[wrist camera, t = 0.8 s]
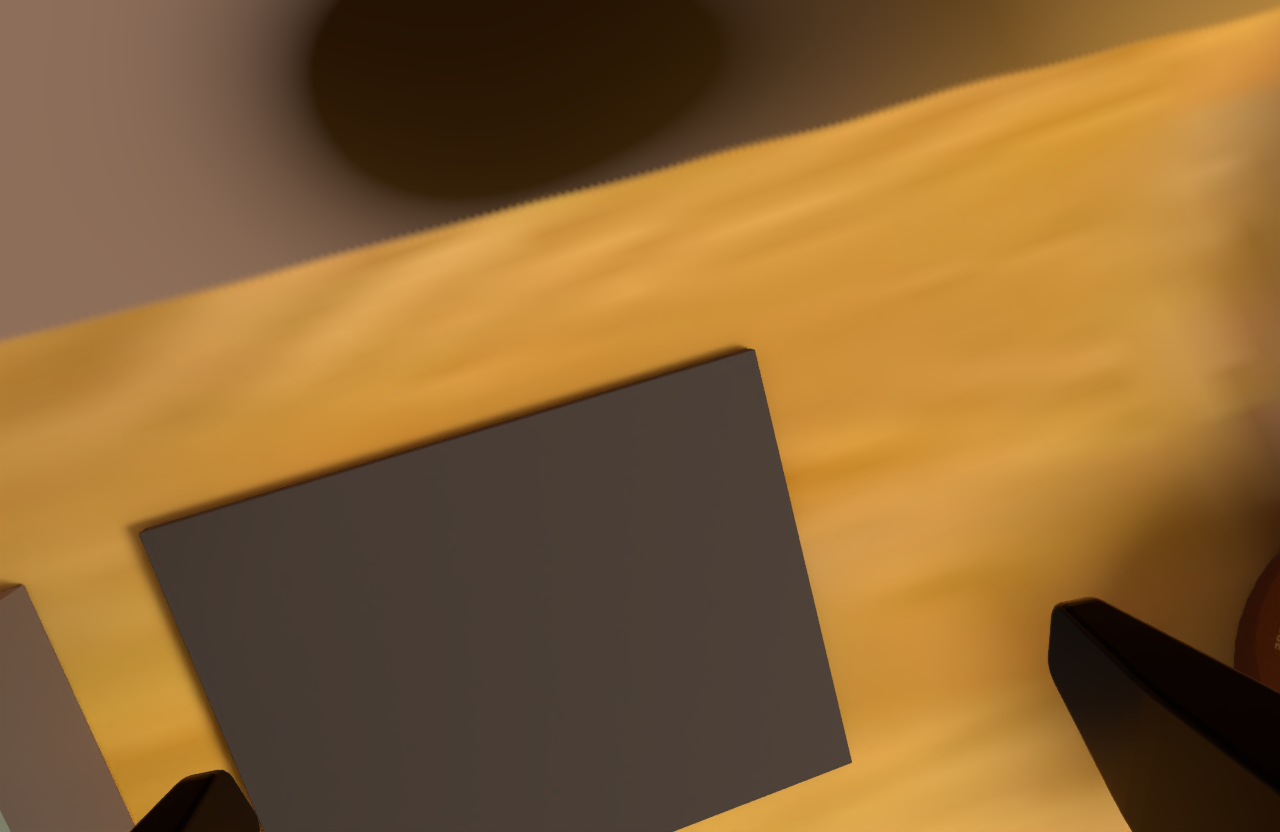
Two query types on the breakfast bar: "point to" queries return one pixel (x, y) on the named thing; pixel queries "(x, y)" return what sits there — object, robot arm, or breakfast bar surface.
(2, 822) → the lid
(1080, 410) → the breakfast bar surface
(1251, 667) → the food container
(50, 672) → the tub
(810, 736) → the mat
